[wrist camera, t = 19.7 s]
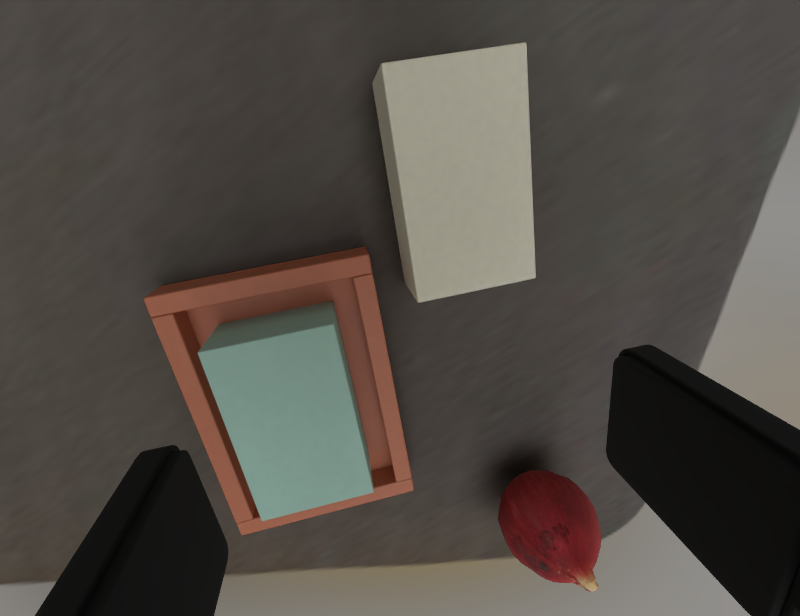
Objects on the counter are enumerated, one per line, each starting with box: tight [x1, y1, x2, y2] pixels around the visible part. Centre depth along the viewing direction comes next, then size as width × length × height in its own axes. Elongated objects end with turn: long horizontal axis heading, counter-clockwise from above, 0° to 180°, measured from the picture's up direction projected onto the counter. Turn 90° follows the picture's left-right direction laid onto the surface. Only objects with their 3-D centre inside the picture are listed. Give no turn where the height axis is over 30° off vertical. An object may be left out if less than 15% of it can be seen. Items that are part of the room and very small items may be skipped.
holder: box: [144, 247, 414, 535], centre depth 22 cm, size 15×10×2 cm
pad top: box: [372, 42, 536, 303], centre depth 19 cm, size 10×6×4 cm, turn 9°
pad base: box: [198, 301, 374, 521], centre depth 21 cm, size 10×6×4 cm, turn 9°
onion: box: [498, 470, 601, 592], centre depth 24 cm, size 6×6×8 cm
